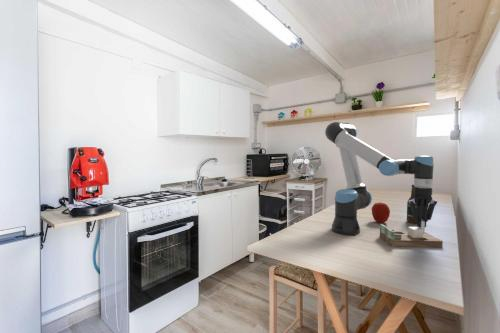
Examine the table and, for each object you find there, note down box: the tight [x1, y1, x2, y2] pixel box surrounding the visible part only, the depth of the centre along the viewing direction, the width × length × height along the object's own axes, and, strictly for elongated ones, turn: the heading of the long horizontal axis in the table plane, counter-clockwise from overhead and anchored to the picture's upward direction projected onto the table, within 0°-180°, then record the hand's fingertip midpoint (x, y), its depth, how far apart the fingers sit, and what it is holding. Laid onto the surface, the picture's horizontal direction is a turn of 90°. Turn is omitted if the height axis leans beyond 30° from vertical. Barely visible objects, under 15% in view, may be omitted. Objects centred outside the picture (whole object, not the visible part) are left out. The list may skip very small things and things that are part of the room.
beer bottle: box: [406, 184, 417, 225], centre depth 153 cm, size 8×8×24 cm
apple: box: [371, 202, 391, 224], centre depth 154 cm, size 10×10×14 cm
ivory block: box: [407, 226, 423, 238], centre depth 121 cm, size 4×4×4 cm
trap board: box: [379, 223, 444, 248], centre depth 122 cm, size 13×23×7 cm, turn 86°
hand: (421, 233), depth 122 cm, fingers closed
